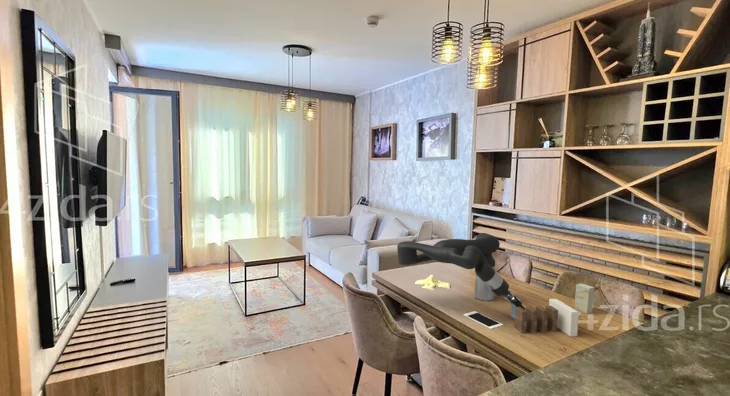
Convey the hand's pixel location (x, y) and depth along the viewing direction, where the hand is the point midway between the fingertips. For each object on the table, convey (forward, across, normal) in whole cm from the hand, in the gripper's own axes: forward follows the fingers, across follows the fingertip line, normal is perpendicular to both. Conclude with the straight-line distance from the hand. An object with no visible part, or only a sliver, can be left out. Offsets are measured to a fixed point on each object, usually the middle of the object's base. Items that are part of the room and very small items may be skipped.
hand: (520, 307), depth 155 cm
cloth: (-14, -49, -22) cm, 55 cm away
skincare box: (+28, -5, +21) cm, 35 cm away
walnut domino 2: (+2, +11, -4) cm, 12 cm away
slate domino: (+2, 0, -5) cm, 5 cm away
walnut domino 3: (+5, +11, -1) cm, 12 cm away
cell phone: (-8, 0, -16) cm, 18 cm away
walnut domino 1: (-1, +11, -8) cm, 13 cm away
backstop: (+12, +11, +6) cm, 17 cm away
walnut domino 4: (+9, +11, +2) cm, 14 cm away
